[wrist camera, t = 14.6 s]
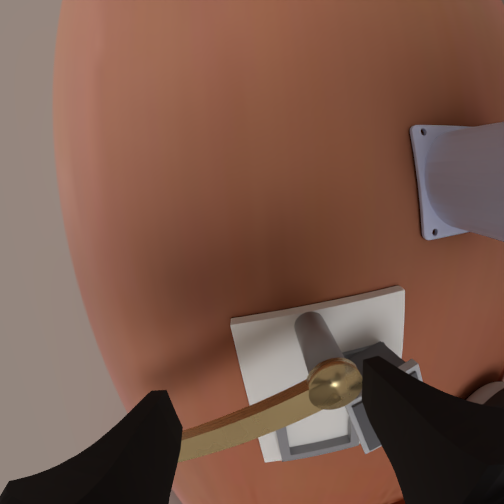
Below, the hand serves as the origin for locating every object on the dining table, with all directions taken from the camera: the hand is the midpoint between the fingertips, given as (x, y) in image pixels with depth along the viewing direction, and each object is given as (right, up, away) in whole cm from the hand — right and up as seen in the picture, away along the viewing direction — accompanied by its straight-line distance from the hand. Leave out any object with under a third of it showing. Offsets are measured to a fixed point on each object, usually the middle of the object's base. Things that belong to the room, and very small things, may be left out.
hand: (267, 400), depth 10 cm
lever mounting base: (+5, -5, +11) cm, 14 cm away
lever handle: (-2, -4, +5) cm, 6 cm away
